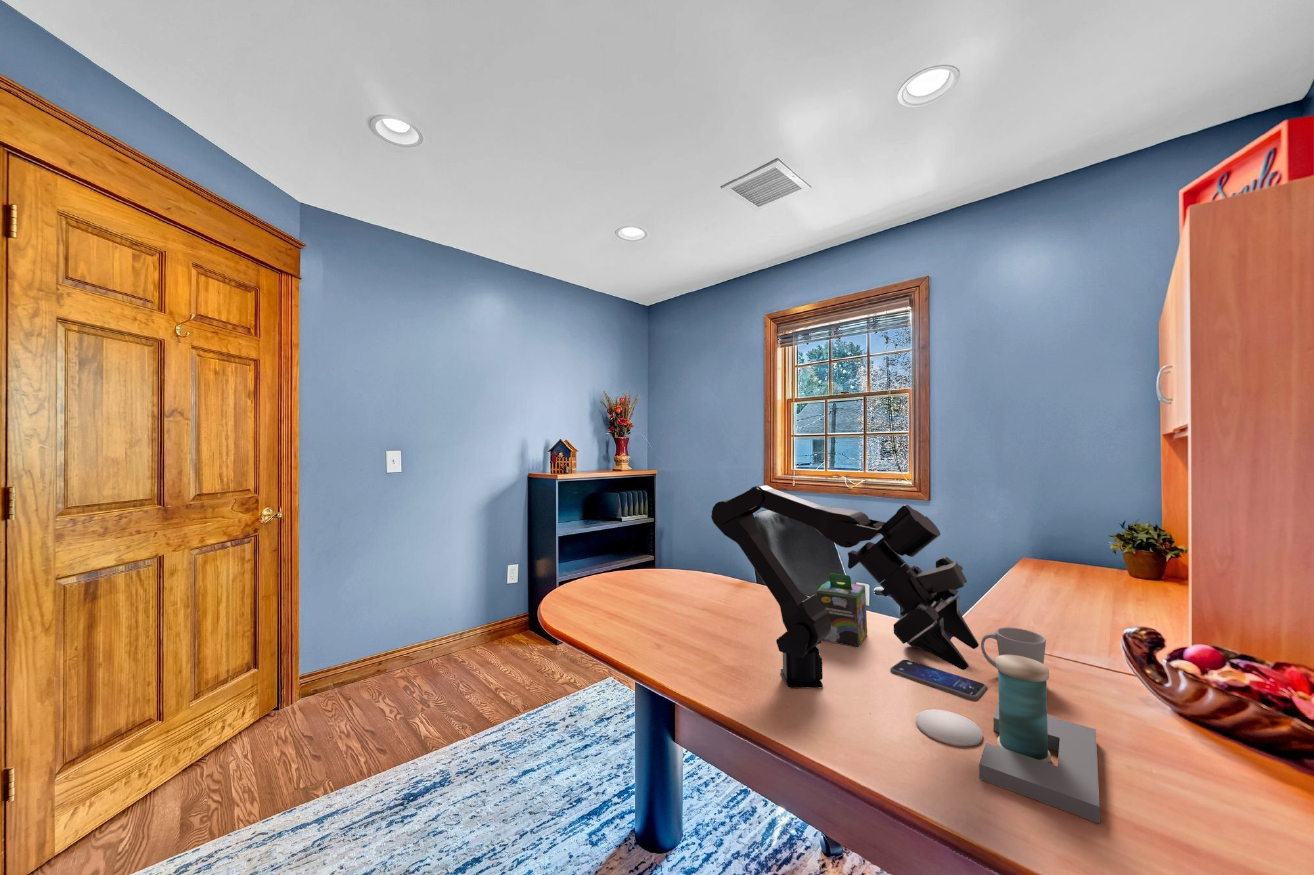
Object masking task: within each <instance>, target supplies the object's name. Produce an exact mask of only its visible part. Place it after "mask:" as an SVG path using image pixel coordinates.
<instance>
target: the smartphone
mask: <svg viewBox="0 0 1314 875" xmlns="http://www.w3.org/2000/svg"><path fill="white" fill-rule="evenodd" d="M889 671H890V672H891V673H892V674H894V675H896V676H899V677H902V678H905V679H909V680H910V681H911V680H912V681H914V682H917V683H921V684H923V685H925V686H926V685H927V686H929V687H932V688H935V689H938V690H941V691H944V692H945V693H949V694H952V695H955V696H959V697H962V698H964V699H967V700H971V701H977V700H979V698H980V697H981V696H982V695H983V694H984V693H986V691H987V689H988V686H987V685H986V684H985V683H983V682H980V681H977V680H974V679H971V678H967V677H964V676H960V675H958V674H955V673H951V672H949V671H945V670H942V669H938V668H935V667H932V666H928V665H926V664H923V663H919V662H915V661H913V660H910V659H902V660H900V661H898V662H897V663H895V664H894V665H892V667H891V666H890V670H889Z"/></svg>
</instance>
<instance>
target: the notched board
mask: <svg viewBox="0 0 1314 875" xmlns="http://www.w3.org/2000/svg"><path fill="white" fill-rule="evenodd" d="M993 714H994V715H993V721H992V722H993V732H997V733H1000V732H999V701H998V702H997V705H996V708H995V712H994V713H993ZM1047 729H1048V749H1051V750H1054V751H1056V752H1058V758H1057V765H1056V764H1055V765H1054V764H1052V763H1051V764H1049V763H1046V762H1043V761H1040V760H1037V759H1034V758H1031V757H1028V756H1025V755H1022V754H1019V753H1016V752H1013V751H1010V750H1007V749H1004V748H1001V747H998V746H997V745H994V744H992V743H990V742H985V744H984V747H983V750H982V753H981V757H980V760H979V762H978V763H979V764H978V769H979V771H978V773H979V774H978V775H979V780H982V781H984V782H987V783H990V784H993V785H996V786H998V787H1001V788H1003V789H1007V790H1008V791H1012V792H1014V793H1016V794H1020V795H1021V796H1025V797H1028V798H1030V799H1032V800H1035V801H1038V802H1039V803H1040V802H1041V803H1043V804H1046V805H1048V806H1052V807H1055V808H1056V809H1059V810H1062V811H1065V812H1067V813H1070V814H1073V815H1076V816H1077V817H1081V818H1083V819H1086V820H1089V821H1090V822H1091V821H1092V822H1093V823H1097V824H1101V823H1100V822H1101V821H1100V820H1101V819H1100V818H1101V817H1100V790H1099V772H1098V771H1099V770H1098V769H1099V768H1098V766H1099V765H1098V753H1097V752H1098V749H1097V745H1098V744H1097V730H1096V729H1097V728H1093V727H1089V726H1085V725H1082V724H1079V723H1074V722H1072V721H1069V720H1066V719H1065V720H1064V719H1062V718H1061V719H1060V718H1057V717H1055V716H1051V715H1047Z"/></svg>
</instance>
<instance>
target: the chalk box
mask: <svg viewBox="0 0 1314 875" xmlns="http://www.w3.org/2000/svg"><path fill="white" fill-rule="evenodd" d="M838 579H840V580H843V581H844V582H841V581H837V580H838ZM815 593H816V594H815V595H816V596H817V597H818V598H819V600H820V602H821V604H822V605H823V607H824V608H825V609H826V610H828V611H829V613H828V614H827V615H828V616H829V618H830V620H831V630H830V633H829V634H828V635H827V636H826V637H825V638H824V639H823V640H822V641H826V642H832V643H836V644H840V645H845V646H849V647H853V648H860V646H861V645H862V643H863V641H864V640H865V638H866V636H867V635H868V622H867V620H868V619H867V598H866V585H865V584H858V583H857V584H856V583H852V578H851V576H850V575H848V574H839V573H832V572H831V573H829V580H827V581H826V582H825V583H823V584H821V586H820V587H819V588H818V589H817V590H816V591H815Z"/></svg>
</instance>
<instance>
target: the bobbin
mask: <svg viewBox="0 0 1314 875" xmlns="http://www.w3.org/2000/svg"><path fill="white" fill-rule="evenodd" d="M995 661H996V667H995V668H996V669H997V670H998V671H997V672H998V676H997V677H998V702H999V732H998V733H999V736H998V737H997V739H996V742H997V744H996V746H998V747H1001V748H1004V749H1007V750H1010V751H1013V752H1016V753H1019V754H1022V755H1025V756H1028V757H1031V758H1034V759H1037V760H1040V761H1043V762H1046V763H1049V764H1052V754H1051V752H1050V751H1049V748H1048V729H1047V716H1048V696H1047V695H1048V692H1047V691H1048V688H1047V686H1048V685H1047V681H1048V680H1049V679H1050V669H1049V668H1048V666H1047V665H1046V664H1045V663H1044V664H1042V663H1040V662H1038V661H1036V660H1033V659H1030V658H1026V657H1022V656H1017V655H1000V656H999V655H998V656H996V657H995Z"/></svg>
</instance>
